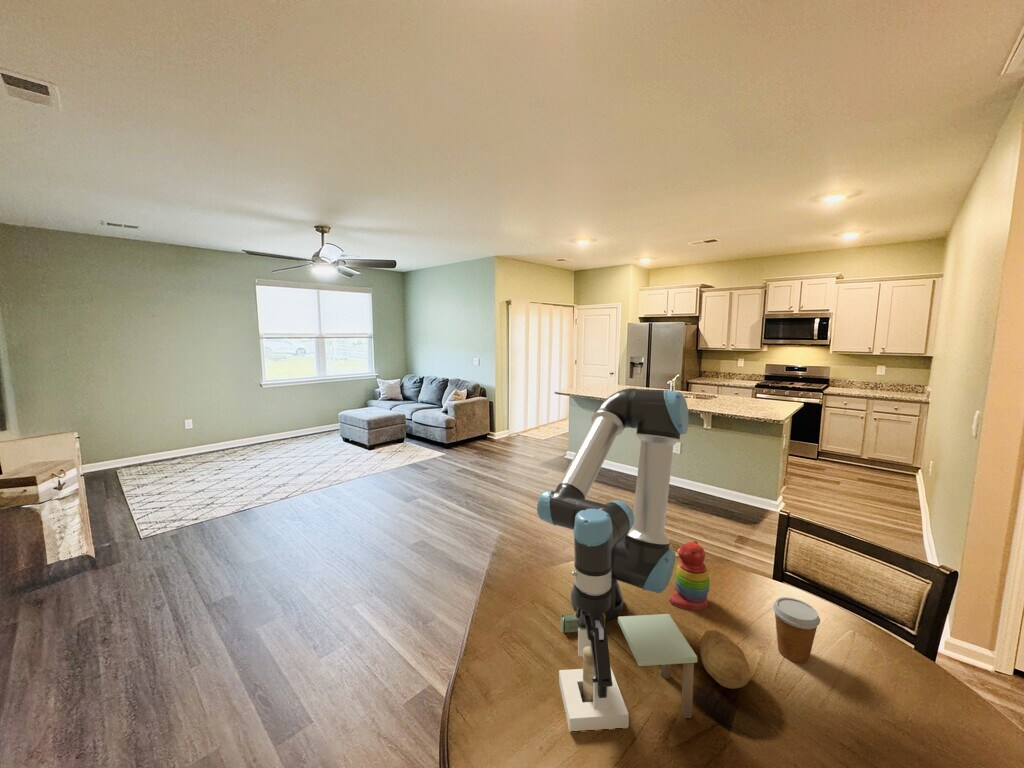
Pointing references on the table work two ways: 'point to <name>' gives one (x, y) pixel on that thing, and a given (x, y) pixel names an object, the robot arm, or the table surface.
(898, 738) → the table surface
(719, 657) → the potato
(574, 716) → the socket block
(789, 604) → the disposable coffee cup
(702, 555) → the stacking bear
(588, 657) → the peg
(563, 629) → the medication box
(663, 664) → the mint green toy table
